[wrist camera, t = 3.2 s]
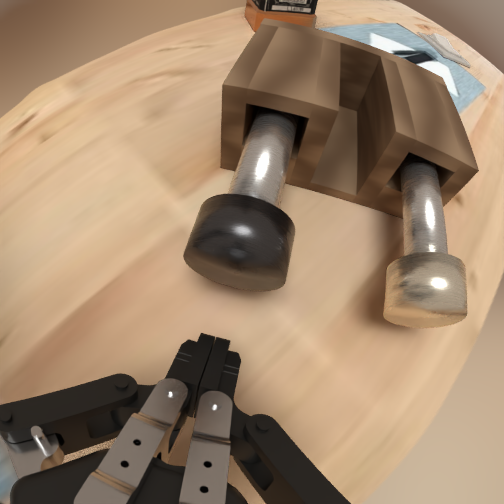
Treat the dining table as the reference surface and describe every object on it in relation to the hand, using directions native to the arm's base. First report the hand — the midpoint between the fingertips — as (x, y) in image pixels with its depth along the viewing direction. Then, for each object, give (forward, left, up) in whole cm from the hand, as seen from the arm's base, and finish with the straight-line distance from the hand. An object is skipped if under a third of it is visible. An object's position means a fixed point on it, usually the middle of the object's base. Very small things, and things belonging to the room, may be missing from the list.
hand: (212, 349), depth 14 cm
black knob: (0, +12, -3) cm, 12 cm away
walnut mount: (+6, +22, -5) cm, 23 cm away
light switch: (+35, +77, -6) cm, 85 cm away
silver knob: (+12, +12, -3) cm, 17 cm away
